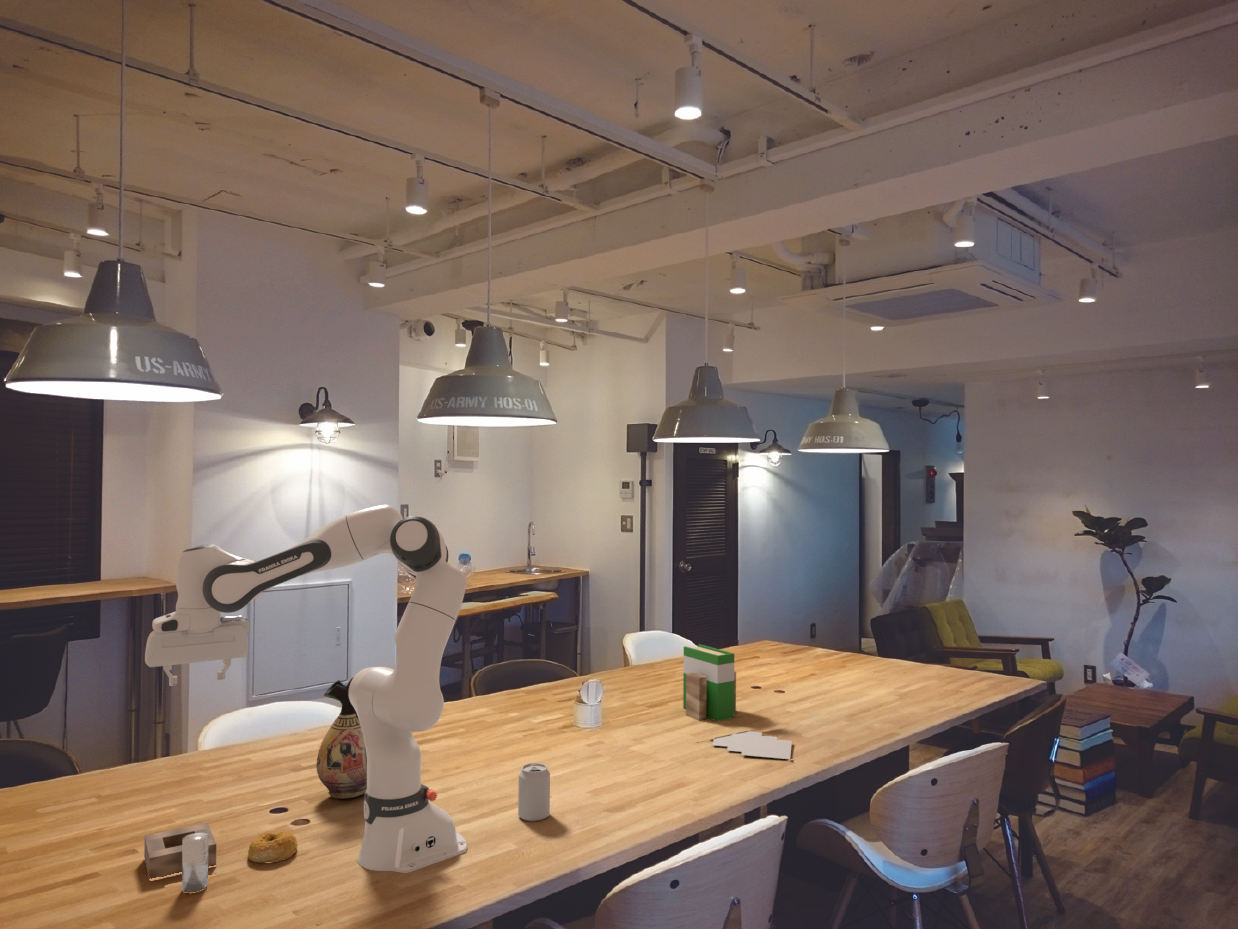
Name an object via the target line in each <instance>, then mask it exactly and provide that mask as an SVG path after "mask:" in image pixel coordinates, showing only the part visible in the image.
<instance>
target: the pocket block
mask: <svg viewBox="0 0 1238 929" xmlns="http://www.w3.org/2000/svg"><path fill="white" fill-rule="evenodd" d="M194 833H206V834H208V867H209V866H214V865H216V866H217V842H216V839H215V837H214V835H213V832H212V830H211V827H210V824H209V822H207V823H206V822H205V823H200V824H196V825H192V826H191V825H190V826H185V827H181V828H175V829H170V830H167V831H162V832H155V833H150V834H145V835H144V853H143V854H144V858H145V860H144V863H145V862H146V865H145V867H146V866H147V870H146V872H147V871H148V874H147V876H148V875H149V879H150V878H151V879H152V878H156V877H164V876H167V875H171V874H174V873H179V872H182V841H183V838H184V837H185V836H187V835H190V834H194ZM144 858H143V859H144ZM149 879H148V880H149Z"/></svg>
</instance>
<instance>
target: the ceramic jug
mask: <svg viewBox="0 0 1238 929" xmlns="http://www.w3.org/2000/svg"><path fill="white" fill-rule="evenodd" d="M353 678H354V676H353V677H351V679H349V681H348V683H347V684H346V685H344V684H343V682H342V681H341V680H340V679H339V680H338V679H337V680H336V681H335V682H333V683H332V684H331V686H329V687H328V688H327V689H326V691H325V692H324V694H323V696H324V698H325V697H326V698H328V699H333V700H336V701H338V702H340V704H341V709H340V712H339V714H338V716H337V717H336V718H335V720H334V721H333V723H332V724H331V726H330V727H329V729H328V731H326V733H325V735H324V737H323V739H322V741H321V743H320V746H319V750H318V753H317V758H316V772H317V775H318V779H319V780H320V782H321V783H322V785H323V786H324V787H326V789H327V790H328V794H329V796H330V797H332V798H335V799H351V798H355V797H359V796H361V795H363V794H365V791H366V790H367V756H366V748H365V743H364V738H363V734H362V730H361V726H360V722H359V718H358V715H357V713H356V711H355V709H354V707H353V705H352V704H351V702H350V699H349V686H350V683H351V681H352V679H353Z"/></svg>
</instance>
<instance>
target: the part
mask: <svg viewBox="0 0 1238 929" xmlns="http://www.w3.org/2000/svg"><path fill="white" fill-rule="evenodd" d="M208 874H209V869H208V834H206V833H194V834H190V835H187V836H185V837H184V838H183V841H182V875H181V881H182V885H181V891H182V890H183V891H184V892H189V893H190V892H197V891H200V890H202V889H205V888H206V887H207V885H208V886H209V883H208V882H209V881H208ZM207 888H208V887H207Z"/></svg>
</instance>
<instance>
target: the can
mask: <svg viewBox="0 0 1238 929" xmlns="http://www.w3.org/2000/svg"><path fill="white" fill-rule="evenodd" d="M517 791H518V794H517V795H518V796H517V797H518V799H517V800H518V802H517V807H518V808H517V813H518V814H517V816H518V817H519V818H521V819H522V820H523V821H526V822H539V821H543V820H546V819H547V818H548V817H549V816H550V812H551V811H550V810H551V808H550V806H551V805H550V803H551V800H550V799H551V772H550V771H549V770H548V765H546V764H545V763H541V762H540V763H539V762H531V763H529V762H528V763H526V764H524V765H522V766H521V770H520V771H519V772H518V790H517Z"/></svg>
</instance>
